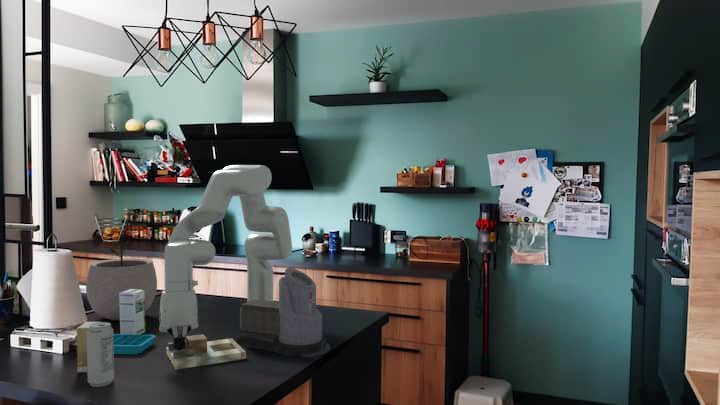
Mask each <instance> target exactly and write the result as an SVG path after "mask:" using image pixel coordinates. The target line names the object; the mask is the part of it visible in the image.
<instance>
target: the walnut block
mask: <svg viewBox="0 0 720 405" xmlns="http://www.w3.org/2000/svg"><path fill="white" fill-rule="evenodd" d="M185 341H186V349H191V348H194V354H199V353H206V352H207V342H208V338H207V337H206V335H204V334H194V335H186V336H185Z"/></svg>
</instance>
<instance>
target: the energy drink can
mask: <svg viewBox="0 0 720 405" xmlns="http://www.w3.org/2000/svg"><path fill="white" fill-rule="evenodd" d="M98 322H99V323H94V324H91V325H90V326H89V327H90V328H89V330H88V331H87V371H88V372H87V383H88V384H89V385H90V386H91V387H93V388H101V387H106V386H108V385H110V384H112V381H113V380H114V379H115V368H114V367H115V362H114V360H115V358H114V355H115V354H114V345H113V334H114V329H113V327H112V323H110V322H107V321H104V322H103V321H98Z"/></svg>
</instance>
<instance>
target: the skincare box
mask: <svg viewBox="0 0 720 405" xmlns="http://www.w3.org/2000/svg"><path fill="white" fill-rule="evenodd" d="M99 322H100V321H85V322H83V323H82V324H81V325H79V326H77V328H76V343H77V346H76V352H77V353H76V355H77V356H76V357H77V363H76V364H77V373H88V371H87V331H88V330H89V328H90V327H89V326H90V325H91V324H94V323H99Z"/></svg>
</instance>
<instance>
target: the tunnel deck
mask: <svg viewBox="0 0 720 405" xmlns="http://www.w3.org/2000/svg"><path fill="white" fill-rule="evenodd" d="M166 355H167V357H168V358H169V360H171V361H170V362H171V364H172V365H173V368H174V369H175V370H182V369H183V370H184V369H189V368H194V367H201V366H202V367H203V366H208V365H214V364H221V363H228V362H234V361H238V360H239V361H240V360H244V359H245V360H246V359H247V352H246V350H245V349H244V348H242V347H241V346H239V345H238V344H237V343H236V340H234V338H232V337H231V338H225V339H216V340H210V341H208V340H207V352H206V353H199V354H194V348H191V349H186V340H185V347H183V350H176V349H175V348H174V347H173V342H172V341H171V342H167V346H166Z"/></svg>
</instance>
